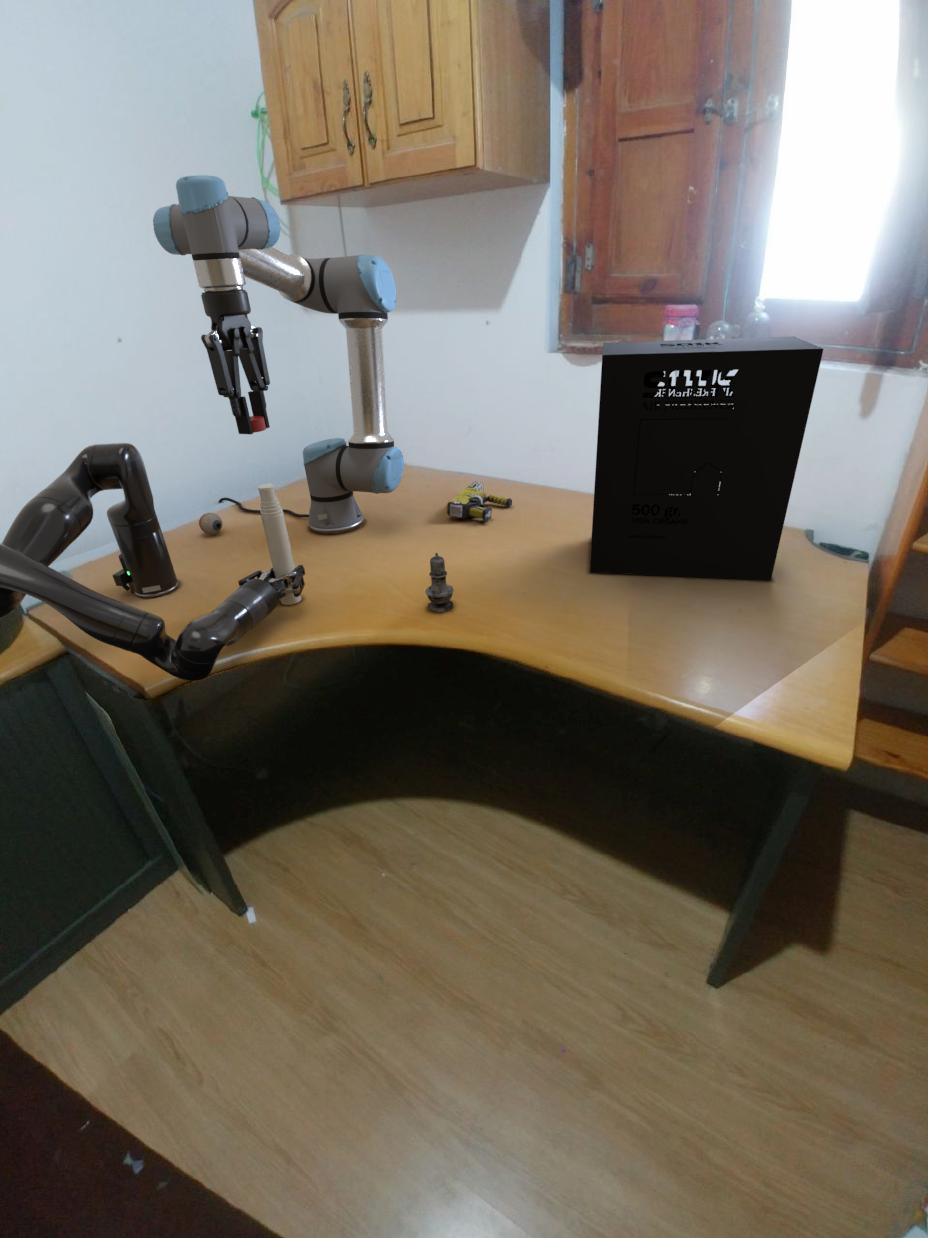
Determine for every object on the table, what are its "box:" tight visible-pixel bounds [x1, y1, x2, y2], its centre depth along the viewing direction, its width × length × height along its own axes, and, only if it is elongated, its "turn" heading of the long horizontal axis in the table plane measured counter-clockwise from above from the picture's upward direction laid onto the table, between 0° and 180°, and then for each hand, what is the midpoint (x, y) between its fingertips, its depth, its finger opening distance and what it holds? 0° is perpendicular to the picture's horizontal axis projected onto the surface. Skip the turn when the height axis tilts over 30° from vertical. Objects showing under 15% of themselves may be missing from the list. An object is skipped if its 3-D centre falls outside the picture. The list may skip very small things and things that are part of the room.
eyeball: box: [198, 512, 223, 536], centre depth 167 cm, size 6×6×6 cm
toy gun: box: [446, 480, 513, 523], centre depth 174 cm, size 5×24×15 cm
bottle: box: [257, 483, 302, 606], centre depth 125 cm, size 4×4×26 cm
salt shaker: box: [424, 552, 455, 613], centre depth 122 cm, size 6×6×12 cm
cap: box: [249, 415, 267, 434], centre depth 113 cm, size 4×4×2 cm
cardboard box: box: [589, 336, 824, 581], centre depth 128 cm, size 38×20×45 cm, turn 78°
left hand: (291, 568), depth 130 cm, fingers closed on bottle, 4 cm apart
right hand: (254, 430), depth 113 cm, fingers closed on cap, 4 cm apart
